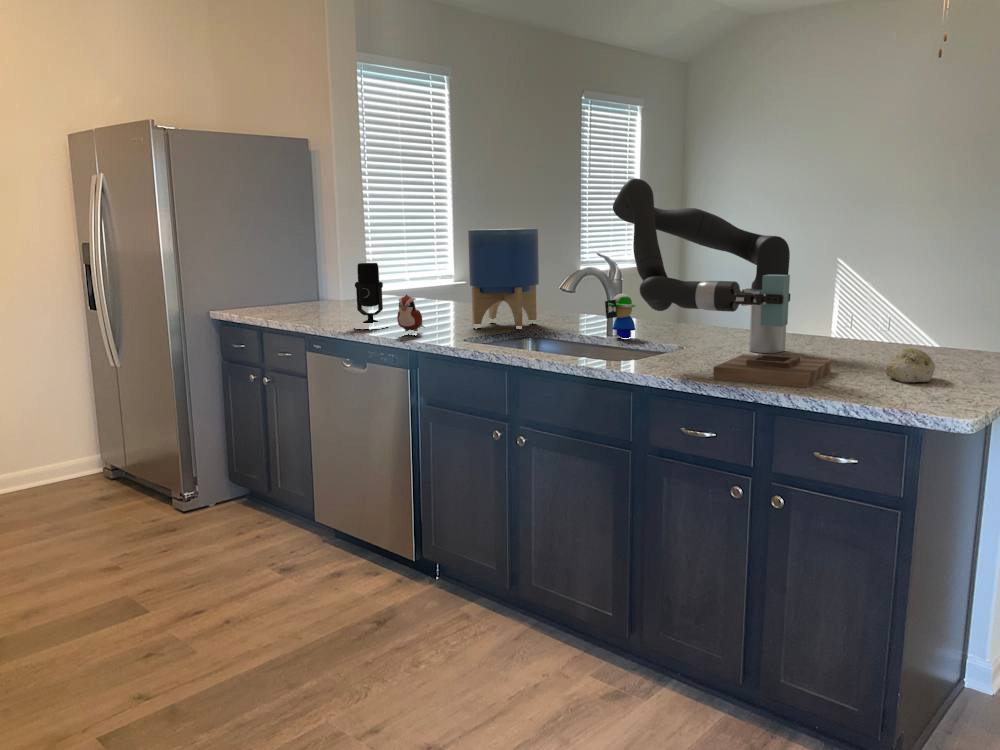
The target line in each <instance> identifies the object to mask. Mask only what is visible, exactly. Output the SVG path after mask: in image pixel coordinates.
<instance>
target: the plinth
mask: <svg viewBox="0 0 1000 750" xmlns="http://www.w3.org/2000/svg"><path fill="white" fill-rule="evenodd" d="M831 367H832V360H831V359H819V358H818V359H817V358H805V357H804V358H803V357H802V358H801V357H800V356H787V355H771V354H760V353H759V354H746V353H742V354H740V355H737V356H736V357H733V358H731V359H728V360H726V361H724V362H722V363H719V364H717V365H715V366H713V376H712V377H713V380H719V381H720V380H721V381H730V382H731V381H733V382H742V383H752V384H753V383H754V384H764V385H776V386H786V387H800V388H809V387H810V386H812V385H813V384H815V383H816V382H818V381H819V380H822V378H824V377H826V376H827V375H828V374H830V373H831Z"/></svg>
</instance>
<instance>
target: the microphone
mask: <svg viewBox="0 0 1000 750" xmlns="http://www.w3.org/2000/svg"><path fill="white" fill-rule="evenodd" d="M356 271H357V281H356V282H355V283H354V288H355V291H356V293H355V294H356V309H357V311H358V312H359V313H360V314H361V315H362V316H367V319H366V320H364V321H362V322H363V323H373V322H378V321H379V320H375V319H374V316H376V315H379V314H380V313H381V312H382V311H383V309H384V308H383V307H384V305H383V289H382V288H383V287H384V283H383V281H380V271H379V264H378V262H361V263H357V270H356ZM376 306H378V307H377V308H378V310H376V311H375V312H367V311H366V310H364V309H363V307H368V308H372V307H376Z"/></svg>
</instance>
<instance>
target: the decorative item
mask: <svg viewBox="0 0 1000 750" xmlns="http://www.w3.org/2000/svg"><path fill="white" fill-rule="evenodd" d="M935 369H936V365H935V362H934V360H932V358H931V357H930V356H929V354H928V353H927V352H924V351H923V350H921V349H917V348H905V349H901V350H899V352H898V353H897V354H896V355H895V356H894V357H893V358H891V359H890V360H889V362H887V363H886V365H885V369H884V370H885V373H886V375H887V376H888V378H890V379H892V380H896V381H898V382H900V383H902V384H903V383H904V384H906V383H907V384H909V383H927V382H930V381H931V379H932V377H933V376H934V372H935Z"/></svg>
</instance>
